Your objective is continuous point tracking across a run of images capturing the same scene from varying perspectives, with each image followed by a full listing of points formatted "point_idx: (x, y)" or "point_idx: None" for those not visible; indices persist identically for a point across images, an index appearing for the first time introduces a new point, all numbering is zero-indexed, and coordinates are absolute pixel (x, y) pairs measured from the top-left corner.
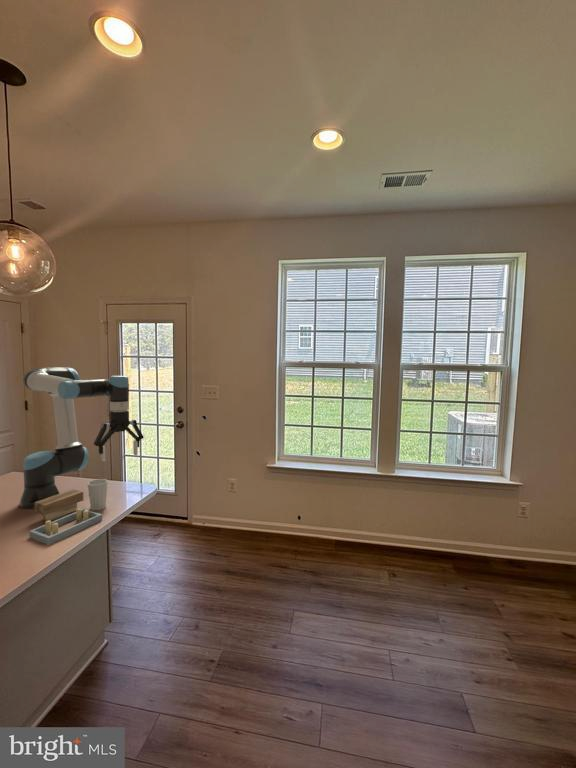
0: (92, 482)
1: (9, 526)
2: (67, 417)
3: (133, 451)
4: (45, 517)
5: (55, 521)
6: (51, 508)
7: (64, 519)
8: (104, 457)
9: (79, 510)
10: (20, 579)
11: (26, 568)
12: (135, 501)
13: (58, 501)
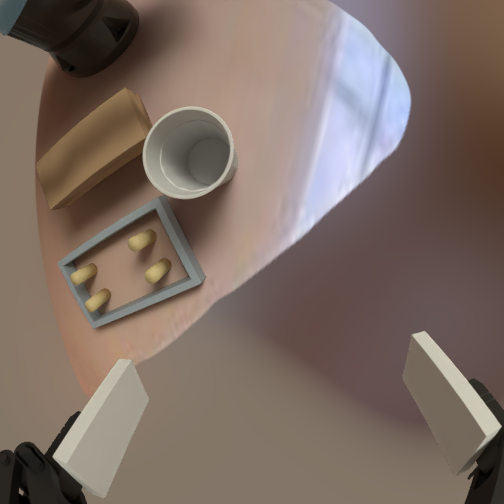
0: (172, 118)
1: None
2: None
3: (423, 352)
4: None
5: (93, 245)
6: (72, 197)
7: (113, 233)
8: (132, 421)
9: (136, 250)
10: (91, 389)
11: (89, 370)
12: (333, 196)
13: (77, 188)
